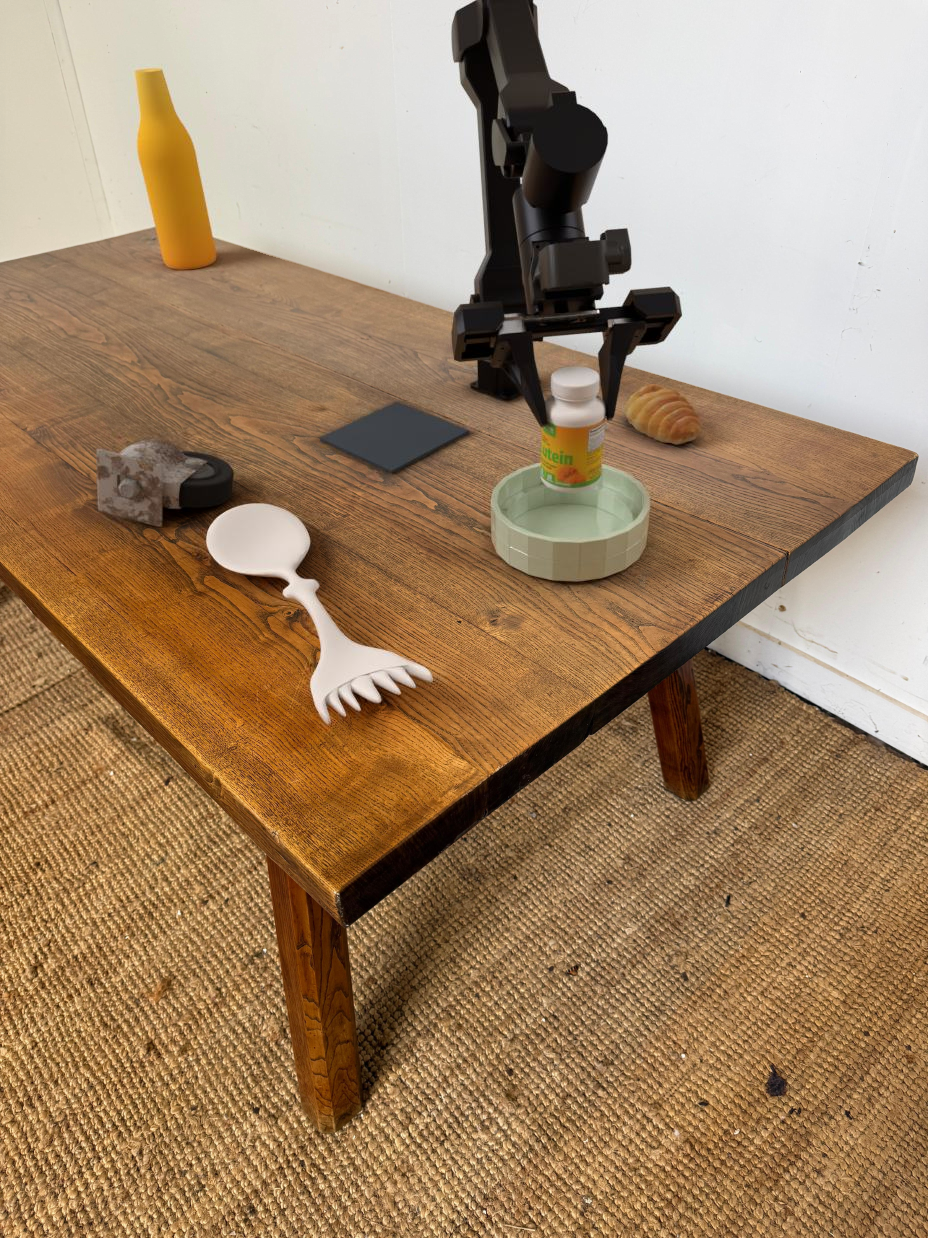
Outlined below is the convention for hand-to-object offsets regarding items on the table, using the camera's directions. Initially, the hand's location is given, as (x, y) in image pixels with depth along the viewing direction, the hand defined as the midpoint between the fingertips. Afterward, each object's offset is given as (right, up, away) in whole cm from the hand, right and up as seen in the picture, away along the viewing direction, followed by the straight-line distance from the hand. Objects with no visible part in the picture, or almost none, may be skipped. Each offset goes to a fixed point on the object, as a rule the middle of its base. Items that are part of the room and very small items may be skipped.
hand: (577, 422), depth 73 cm
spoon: (-23, -16, +2) cm, 28 cm away
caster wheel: (-39, -4, +17) cm, 43 cm away
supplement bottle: (0, -4, +5) cm, 7 cm away
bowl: (0, -9, +9) cm, 13 cm away
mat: (-17, +4, +26) cm, 32 cm away
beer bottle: (-58, +46, +82) cm, 110 cm away
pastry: (+13, +5, +26) cm, 30 cm away
